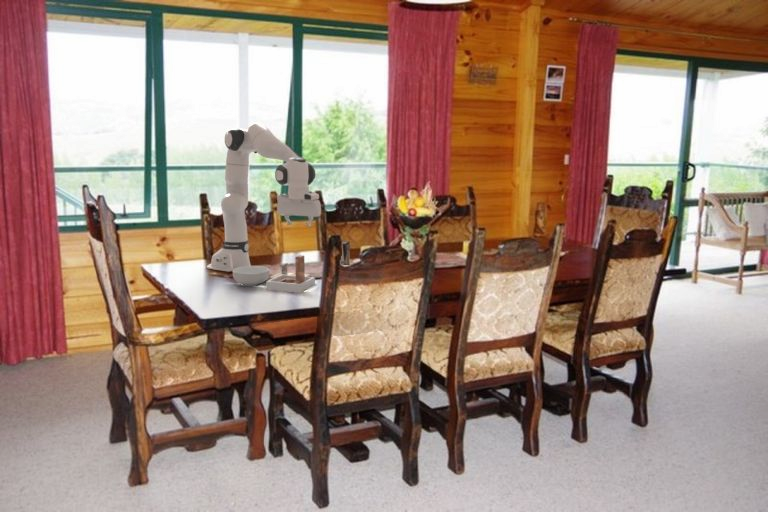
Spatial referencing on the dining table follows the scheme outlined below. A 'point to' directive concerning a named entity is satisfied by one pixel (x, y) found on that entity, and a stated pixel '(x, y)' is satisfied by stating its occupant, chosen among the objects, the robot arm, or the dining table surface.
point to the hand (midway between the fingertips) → (298, 225)
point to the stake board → (285, 271)
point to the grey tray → (289, 284)
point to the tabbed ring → (297, 271)
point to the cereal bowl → (250, 275)
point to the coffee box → (345, 253)
